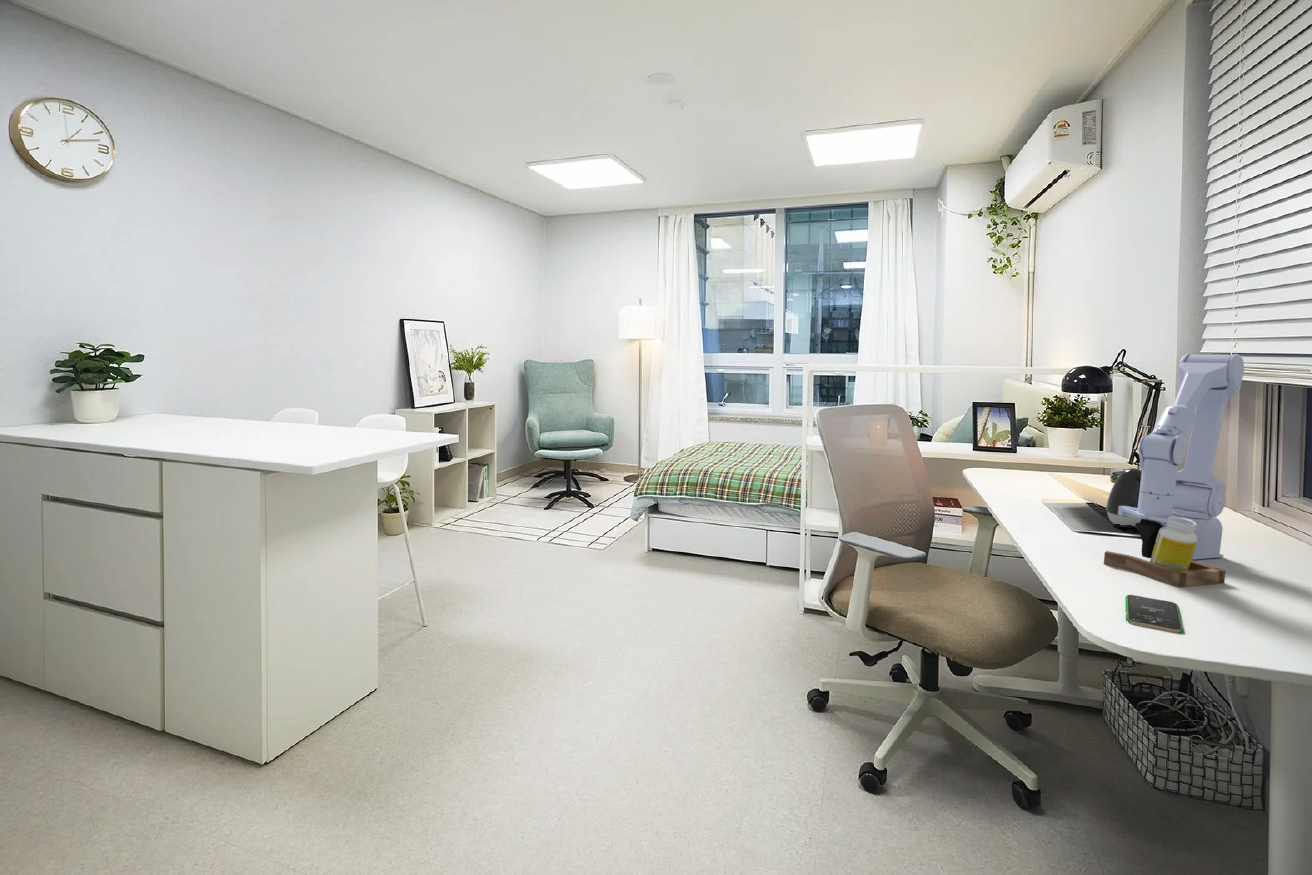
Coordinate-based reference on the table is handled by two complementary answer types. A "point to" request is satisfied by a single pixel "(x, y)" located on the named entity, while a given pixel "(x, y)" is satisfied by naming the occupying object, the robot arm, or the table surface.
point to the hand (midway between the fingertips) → (1149, 557)
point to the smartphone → (1153, 613)
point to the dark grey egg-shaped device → (1124, 496)
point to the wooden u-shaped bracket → (1168, 570)
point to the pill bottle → (1175, 545)
